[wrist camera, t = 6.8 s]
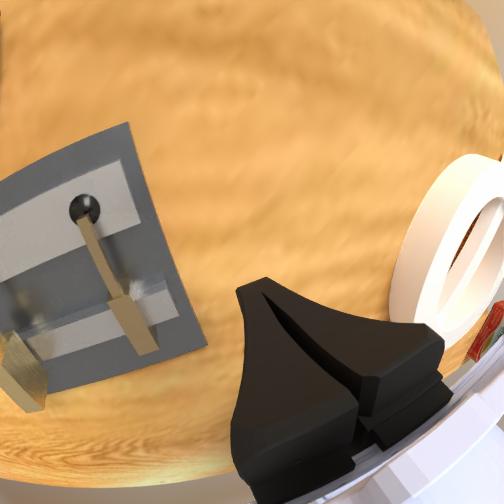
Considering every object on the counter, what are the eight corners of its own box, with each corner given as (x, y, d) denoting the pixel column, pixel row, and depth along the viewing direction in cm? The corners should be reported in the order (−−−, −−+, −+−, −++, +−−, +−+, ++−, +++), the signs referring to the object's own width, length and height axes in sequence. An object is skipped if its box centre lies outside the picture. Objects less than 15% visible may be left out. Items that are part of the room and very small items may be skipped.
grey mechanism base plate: (206, 339, 25) (215, 365, 22) (40, 390, 21) (36, 415, 18) (128, 121, 16) (124, 121, 13) (-64, 227, 12) (-85, 243, 9)
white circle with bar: (504, 146, 31) (528, 154, 27) (479, 292, 44) (496, 304, 40) (393, 169, 24) (432, 182, 20) (375, 366, 38) (394, 387, 34)
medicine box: (477, 347, 59) (496, 363, 52) (465, 354, 56) (485, 372, 49) (503, 298, 53) (524, 314, 47) (493, 301, 50) (517, 318, 44)
